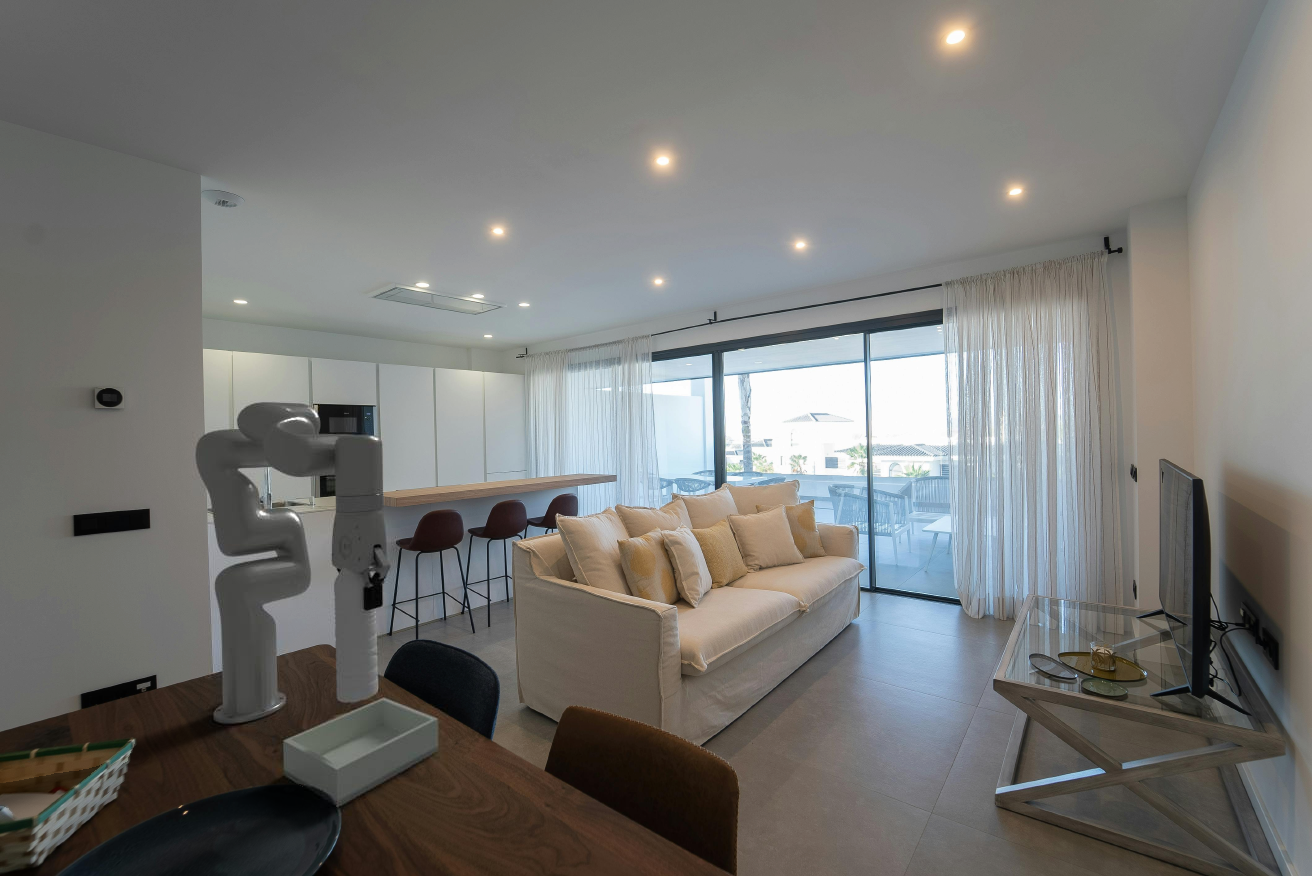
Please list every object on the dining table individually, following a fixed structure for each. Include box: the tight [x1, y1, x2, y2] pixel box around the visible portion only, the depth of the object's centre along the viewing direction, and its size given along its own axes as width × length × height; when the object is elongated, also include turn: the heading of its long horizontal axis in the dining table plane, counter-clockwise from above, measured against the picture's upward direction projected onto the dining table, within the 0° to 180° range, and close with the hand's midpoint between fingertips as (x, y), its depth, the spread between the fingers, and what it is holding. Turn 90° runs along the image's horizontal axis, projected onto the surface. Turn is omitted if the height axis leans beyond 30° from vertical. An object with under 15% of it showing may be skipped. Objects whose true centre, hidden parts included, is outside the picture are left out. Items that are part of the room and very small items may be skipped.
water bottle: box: [333, 568, 379, 703], centre depth 102 cm, size 9×6×25 cm
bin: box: [282, 697, 439, 807], centre depth 102 cm, size 17×19×6 cm
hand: (361, 604), depth 102 cm, fingers closed on water bottle, 6 cm apart
